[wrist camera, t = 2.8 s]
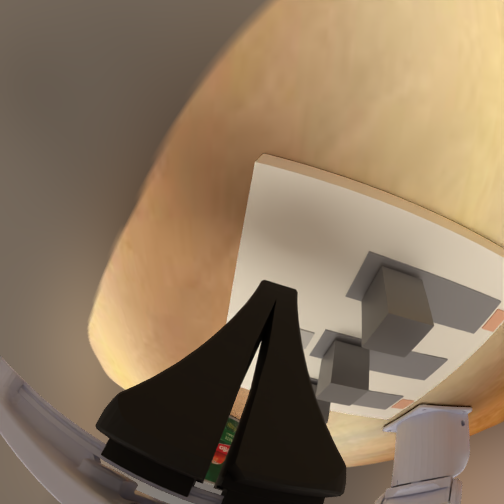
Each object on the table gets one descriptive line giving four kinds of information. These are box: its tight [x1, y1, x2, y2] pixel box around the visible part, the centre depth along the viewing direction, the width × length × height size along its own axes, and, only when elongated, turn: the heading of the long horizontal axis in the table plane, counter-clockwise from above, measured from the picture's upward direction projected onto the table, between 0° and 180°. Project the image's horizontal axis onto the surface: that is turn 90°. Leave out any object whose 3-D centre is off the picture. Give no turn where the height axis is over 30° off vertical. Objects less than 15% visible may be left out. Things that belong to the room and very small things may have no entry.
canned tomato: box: [203, 415, 240, 486], centre depth 31 cm, size 8×8×11 cm
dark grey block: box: [361, 266, 434, 358], centre depth 11 cm, size 2×2×3 cm
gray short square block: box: [312, 384, 331, 423], centre depth 18 cm, size 2×2×3 cm
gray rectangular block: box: [316, 340, 370, 406], centre depth 15 cm, size 2×2×3 cm
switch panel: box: [226, 153, 504, 420], centre depth 17 cm, size 18×20×2 cm
